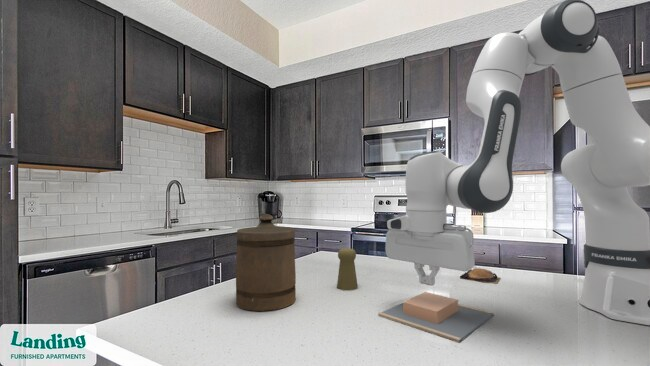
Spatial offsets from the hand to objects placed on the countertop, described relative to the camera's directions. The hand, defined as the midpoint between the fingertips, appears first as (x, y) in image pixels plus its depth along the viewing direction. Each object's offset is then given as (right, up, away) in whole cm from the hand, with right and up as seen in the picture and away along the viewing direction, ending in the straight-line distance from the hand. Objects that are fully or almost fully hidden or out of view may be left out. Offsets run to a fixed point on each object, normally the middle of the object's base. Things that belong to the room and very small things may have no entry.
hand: (427, 284), depth 72 cm
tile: (-2, -5, +2) cm, 6 cm away
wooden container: (-38, -7, +9) cm, 40 cm away
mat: (+1, -6, -2) cm, 7 cm away
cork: (-17, -7, +20) cm, 27 cm away
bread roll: (+25, -8, +27) cm, 38 cm away
